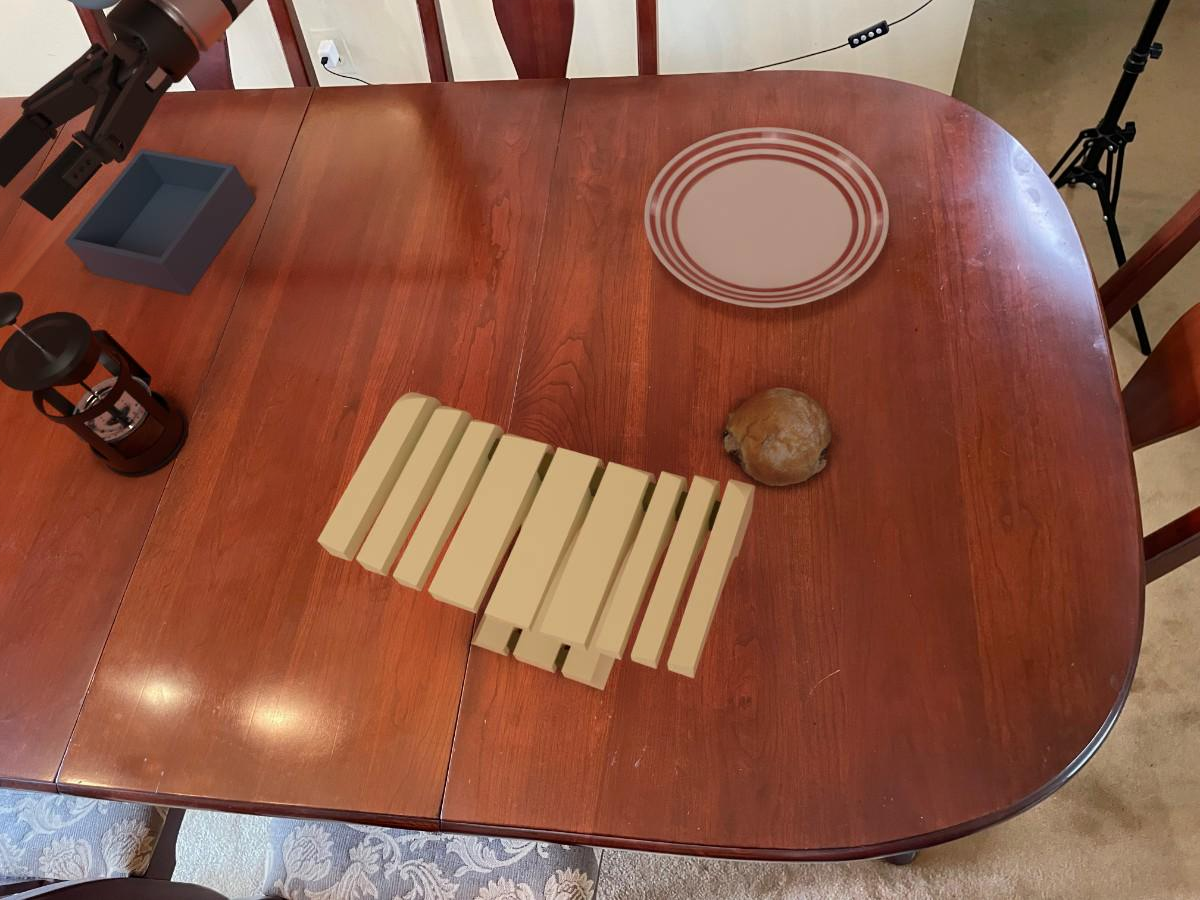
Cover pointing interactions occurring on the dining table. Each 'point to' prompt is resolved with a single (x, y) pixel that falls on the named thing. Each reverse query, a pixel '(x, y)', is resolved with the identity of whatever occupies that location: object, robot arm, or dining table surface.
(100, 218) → the open box
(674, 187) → the dinner plate
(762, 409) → the bread roll
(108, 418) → the french press
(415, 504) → the slatted curved stool
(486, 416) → the dining table surface
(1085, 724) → the dining table surface
